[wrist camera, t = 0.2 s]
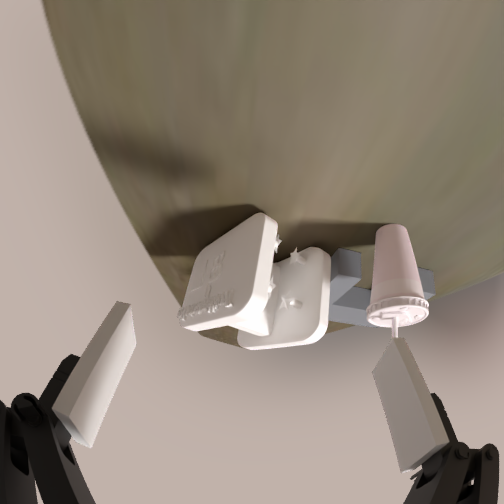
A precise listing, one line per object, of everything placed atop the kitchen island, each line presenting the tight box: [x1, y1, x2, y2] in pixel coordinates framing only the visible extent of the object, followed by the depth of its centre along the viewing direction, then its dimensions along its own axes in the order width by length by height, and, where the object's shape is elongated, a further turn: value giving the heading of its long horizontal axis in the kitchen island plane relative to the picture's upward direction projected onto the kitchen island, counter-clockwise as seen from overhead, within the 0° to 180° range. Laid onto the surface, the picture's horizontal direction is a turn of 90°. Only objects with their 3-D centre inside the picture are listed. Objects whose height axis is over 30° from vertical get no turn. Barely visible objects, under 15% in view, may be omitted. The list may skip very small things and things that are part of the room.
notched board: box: [328, 248, 435, 328], centre depth 39 cm, size 16×15×4 cm
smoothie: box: [366, 224, 429, 338], centre depth 25 cm, size 6×6×14 cm
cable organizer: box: [177, 213, 331, 350], centre depth 33 cm, size 15×11×12 cm
